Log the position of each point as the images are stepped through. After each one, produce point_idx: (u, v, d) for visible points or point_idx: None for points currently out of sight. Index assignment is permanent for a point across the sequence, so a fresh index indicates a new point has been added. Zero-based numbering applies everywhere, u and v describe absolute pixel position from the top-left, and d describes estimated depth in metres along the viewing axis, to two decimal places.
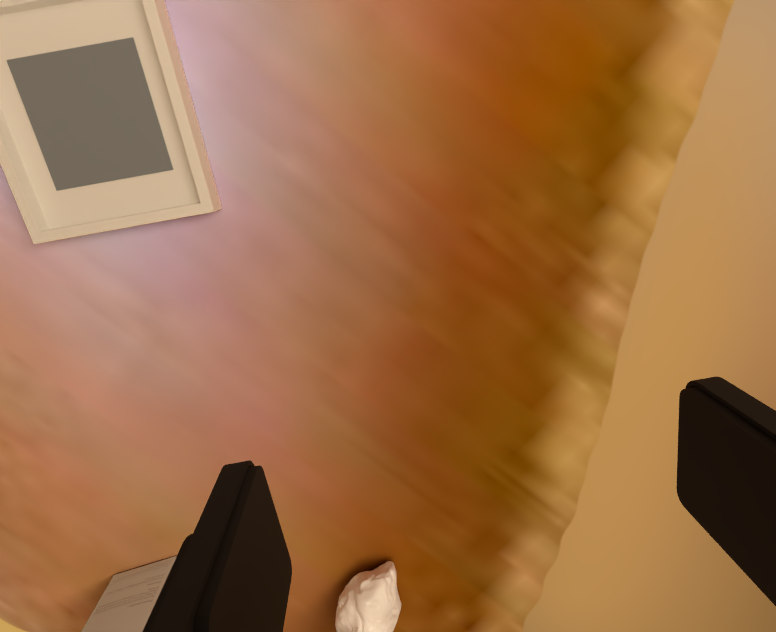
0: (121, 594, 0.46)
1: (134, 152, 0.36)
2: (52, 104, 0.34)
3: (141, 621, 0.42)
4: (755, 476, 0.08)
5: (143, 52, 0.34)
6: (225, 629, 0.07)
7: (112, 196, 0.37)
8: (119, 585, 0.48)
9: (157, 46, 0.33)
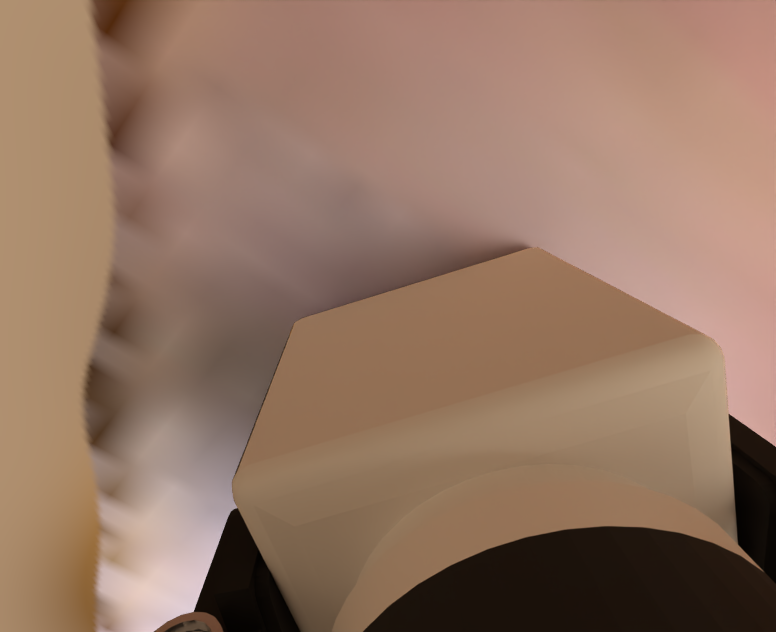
0: None
1: None
2: None
3: None
4: None
5: None
6: None
7: None
8: None
9: None
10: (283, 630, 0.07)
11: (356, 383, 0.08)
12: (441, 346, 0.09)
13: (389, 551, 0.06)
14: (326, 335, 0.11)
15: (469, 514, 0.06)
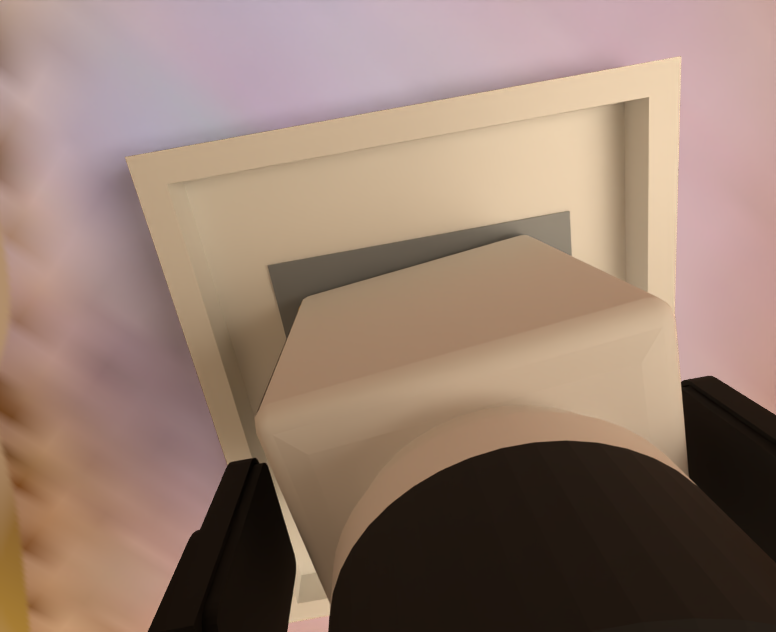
0: None
1: None
2: None
3: None
4: (746, 474, 0.08)
5: (582, 242, 0.14)
6: (233, 623, 0.07)
7: None
8: None
9: (653, 242, 0.13)
10: None
11: (361, 343, 0.09)
12: (437, 313, 0.10)
13: (389, 469, 0.07)
14: (333, 308, 0.12)
15: (456, 436, 0.07)
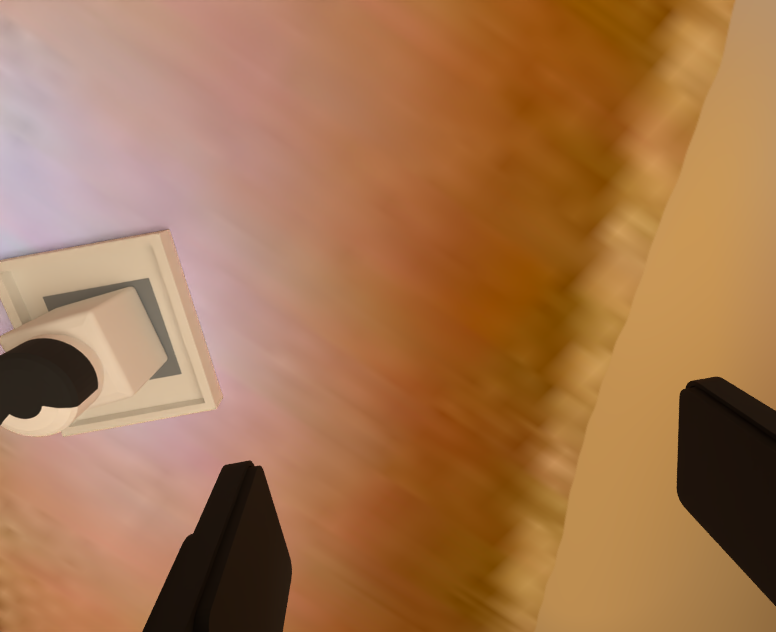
0: None
1: None
2: None
3: None
4: (755, 476, 0.08)
5: (157, 288, 0.40)
6: (225, 629, 0.07)
7: None
8: None
9: (169, 289, 0.39)
10: None
11: (37, 321, 0.35)
12: (61, 313, 0.36)
13: None
14: (52, 312, 0.38)
15: (30, 338, 0.33)
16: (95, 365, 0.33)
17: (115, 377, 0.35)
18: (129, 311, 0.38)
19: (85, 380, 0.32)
